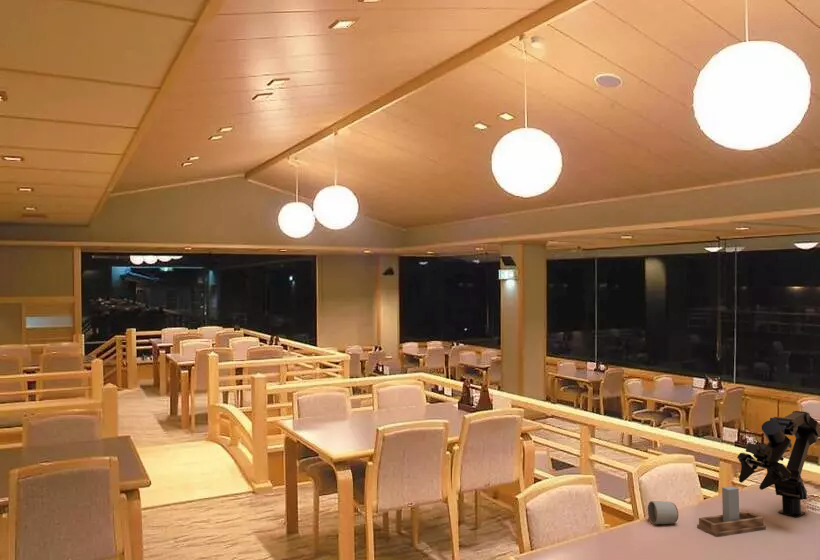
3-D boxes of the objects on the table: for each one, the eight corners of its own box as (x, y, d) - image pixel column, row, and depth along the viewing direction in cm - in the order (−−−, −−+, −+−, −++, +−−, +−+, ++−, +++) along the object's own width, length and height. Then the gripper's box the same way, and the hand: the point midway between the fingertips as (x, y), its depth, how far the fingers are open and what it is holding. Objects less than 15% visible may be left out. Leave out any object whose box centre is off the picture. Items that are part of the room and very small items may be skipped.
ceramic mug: (680, 526, 222) (679, 503, 222) (657, 527, 221) (656, 504, 221) (665, 516, 233) (664, 494, 233) (643, 517, 232) (642, 495, 232)
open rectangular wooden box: (745, 520, 226) (745, 510, 226) (766, 529, 218) (765, 518, 218) (697, 527, 221) (696, 517, 221) (716, 536, 212) (716, 526, 212)
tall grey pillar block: (732, 523, 221) (731, 486, 221) (739, 526, 218) (738, 488, 218) (723, 524, 220) (722, 487, 220) (729, 527, 217) (728, 490, 217)
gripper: (739, 429, 233) (715, 463, 230) (781, 439, 215) (755, 477, 211) (759, 449, 234) (735, 484, 231) (802, 461, 216) (777, 498, 213)
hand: (749, 485), depth 222 cm, fingers open, 9 cm apart
